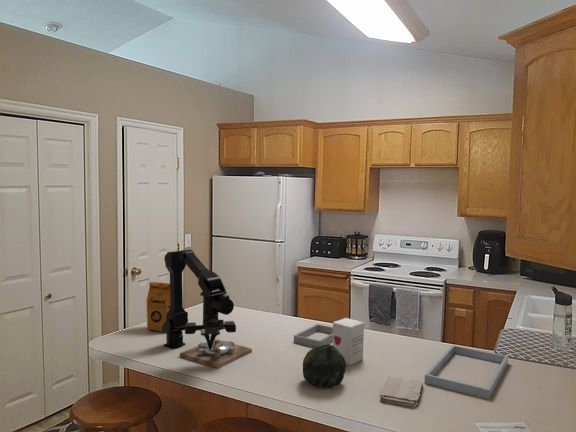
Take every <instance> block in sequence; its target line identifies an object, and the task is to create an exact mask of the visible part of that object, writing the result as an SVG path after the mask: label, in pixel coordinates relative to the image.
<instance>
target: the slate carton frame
mask: <svg viewBox="0 0 576 432" xmlns="http://www.w3.org/2000/svg"><path fill="white" fill-rule="evenodd" d="M454 354H456V355H458V356H459V355H460V356H465V357H470V358H474V359H479V360H484V361H489V362H494V363H498V364H499V366H498V368H497V369H496V371H495V373H494V375H493V377H492V379H491V380H490V382H489V383H488V386H486V387H482V386H479V385H475V384H470V383H467V382H462V381H457V380H453V379H449V378H445V377H440V376H437V375H436V374H437V373H439V371H440V370H441V369H442V368H443V366H444V365H445V364H446V363H447V362H448V361H449V360H450V359H451V357H452V356H453V355H454ZM508 364H509V356H508V355H505V354H500V353H494V352H490V351H484V350H479V349H475V348H470V347H464V346H459V345H454V344H452V345H451V346H450V347H449V348H448V349H447V350H446V351H445V352H444V353H443V354H442V355H441V356H440V357H439V358H438V360H437V361H436V362H434V364H433V365H432V366H431V367H430V368H429V370H427V372H425V374H424V382H423V384H426V383H427V385H430V384H431V385H430V386H434V385H435V386H434V387H439V388H441V389H442V388H443V389H447V390H450V391H454V392H458V391H459V393H462V394H466V395H470V394H471V395H470V396H474V395H476V396H475V397H478V396H480V397H479V398H482V397H483V398H482V399H486V398H487V399H486V400H490V398H491V397H490V396H492V395H493V393H494V390H495V389H496V387H497V385H498V383H499V381H500V379H501V377H503V374H504V373H505V370H506V368H507V366H508ZM434 375H435V376H434ZM491 394H492V395H491Z"/></svg>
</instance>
